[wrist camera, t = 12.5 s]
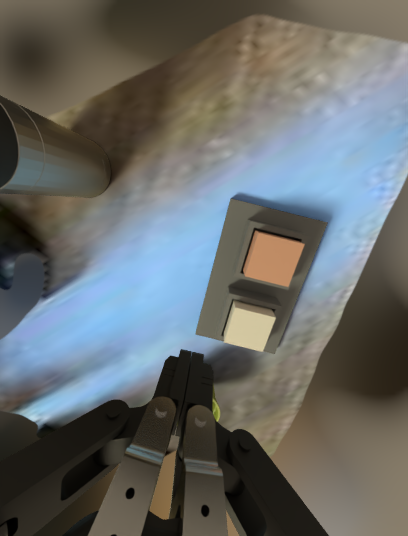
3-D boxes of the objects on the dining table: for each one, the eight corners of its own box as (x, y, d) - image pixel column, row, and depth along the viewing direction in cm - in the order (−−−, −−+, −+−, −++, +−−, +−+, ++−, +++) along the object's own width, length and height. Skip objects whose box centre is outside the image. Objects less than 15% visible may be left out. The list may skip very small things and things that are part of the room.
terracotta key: (242, 270, 34) (244, 276, 32) (255, 230, 33) (258, 232, 30) (282, 280, 34) (288, 287, 32) (297, 240, 33) (304, 244, 30)
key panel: (196, 329, 43) (193, 345, 39) (230, 198, 36) (232, 197, 31) (272, 349, 43) (279, 366, 38) (323, 221, 36) (339, 224, 31)
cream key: (223, 331, 38) (224, 342, 35) (233, 299, 36) (234, 307, 33) (259, 340, 38) (262, 351, 35) (271, 308, 36) (275, 317, 33)
